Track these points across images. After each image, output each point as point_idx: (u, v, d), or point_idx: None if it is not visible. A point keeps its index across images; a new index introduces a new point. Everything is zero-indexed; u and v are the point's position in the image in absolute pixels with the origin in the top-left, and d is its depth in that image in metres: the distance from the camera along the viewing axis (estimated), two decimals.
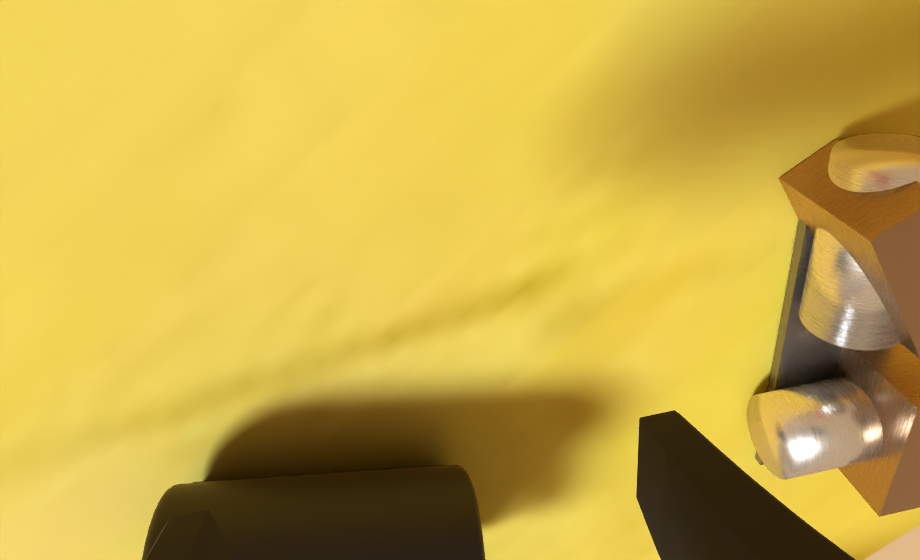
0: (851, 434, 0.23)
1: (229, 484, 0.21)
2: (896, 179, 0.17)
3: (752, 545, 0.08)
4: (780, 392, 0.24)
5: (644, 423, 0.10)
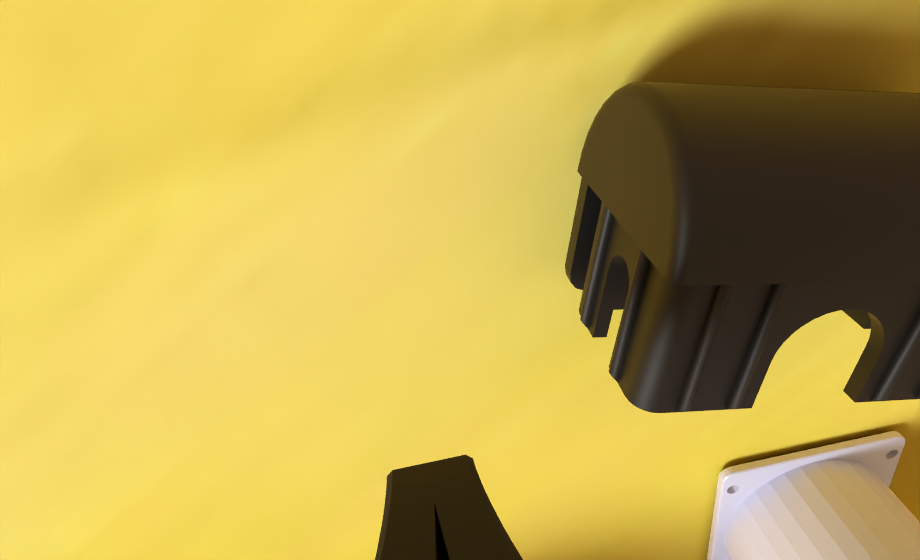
0: None
1: None
2: None
3: None
4: None
5: (430, 468, 0.10)
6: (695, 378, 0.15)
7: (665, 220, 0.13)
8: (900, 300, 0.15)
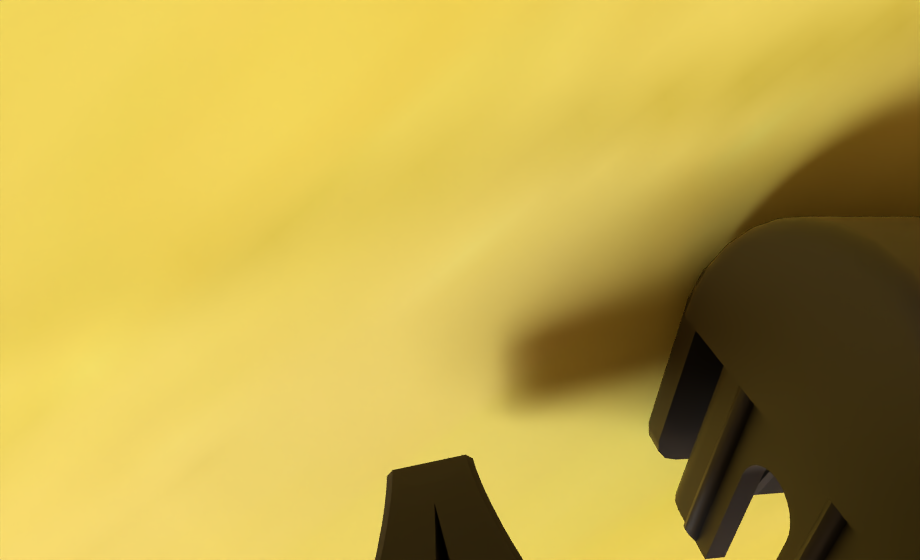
0: None
1: None
2: None
3: None
4: None
5: (430, 468, 0.10)
6: None
7: None
8: None
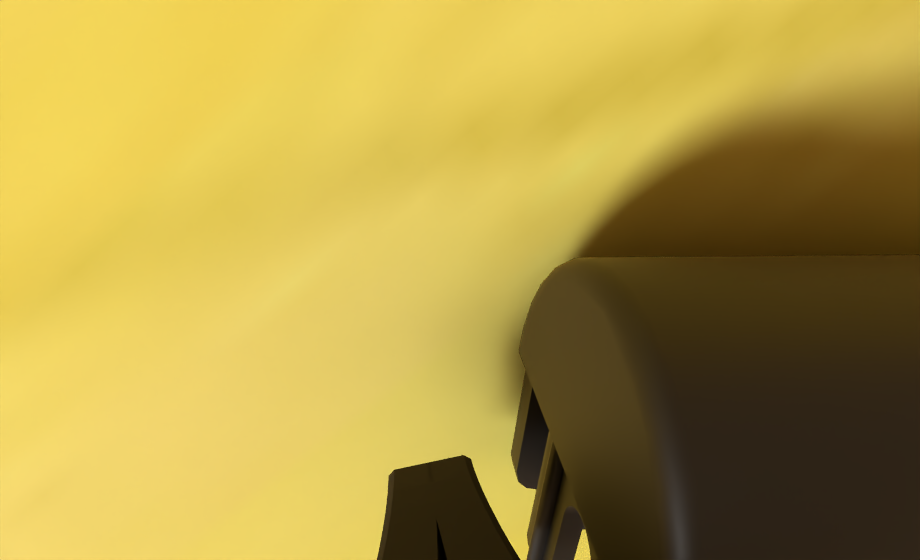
0: None
1: None
2: None
3: None
4: None
5: (428, 469, 0.10)
6: None
7: None
8: None
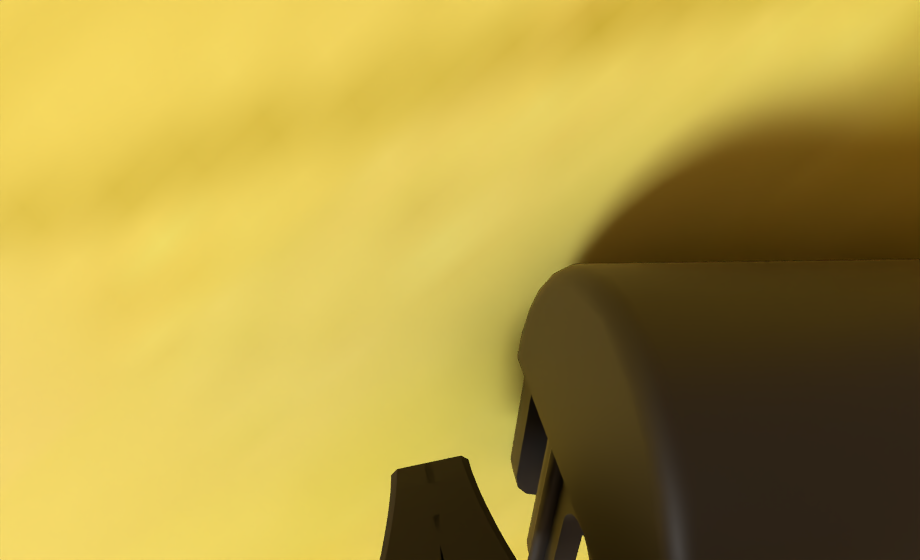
0: None
1: None
2: None
3: None
4: None
5: (426, 470, 0.10)
6: None
7: None
8: None
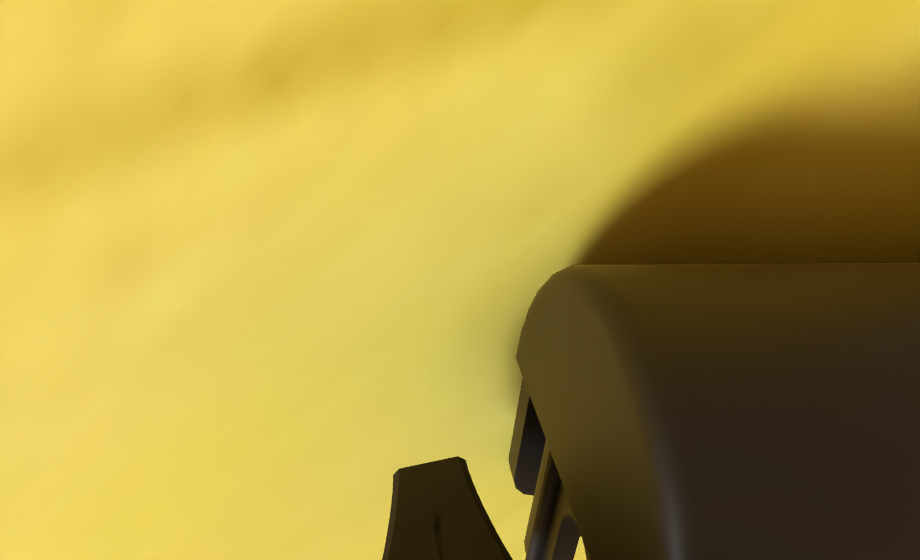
0: None
1: None
2: None
3: None
4: None
5: (423, 470, 0.10)
6: None
7: None
8: None
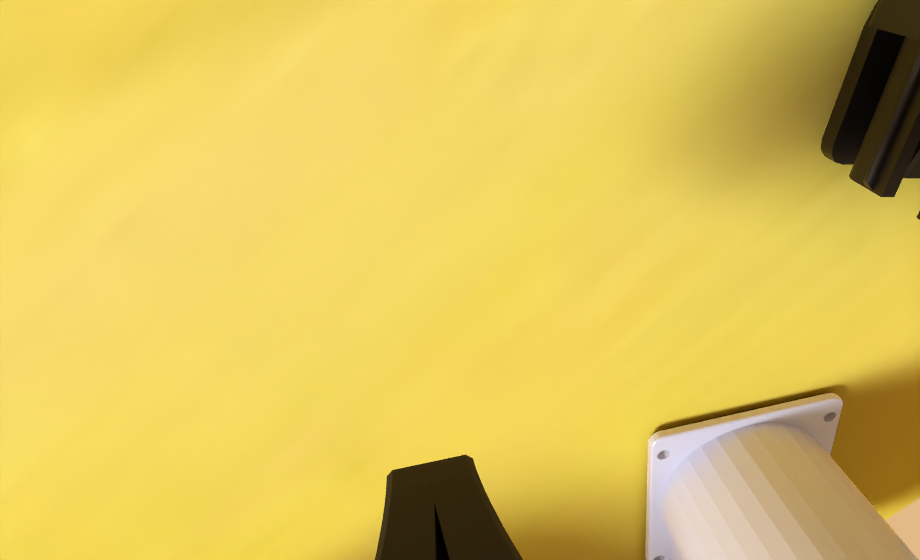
0: None
1: None
2: None
3: None
4: None
5: (430, 468, 0.10)
6: None
7: None
8: None
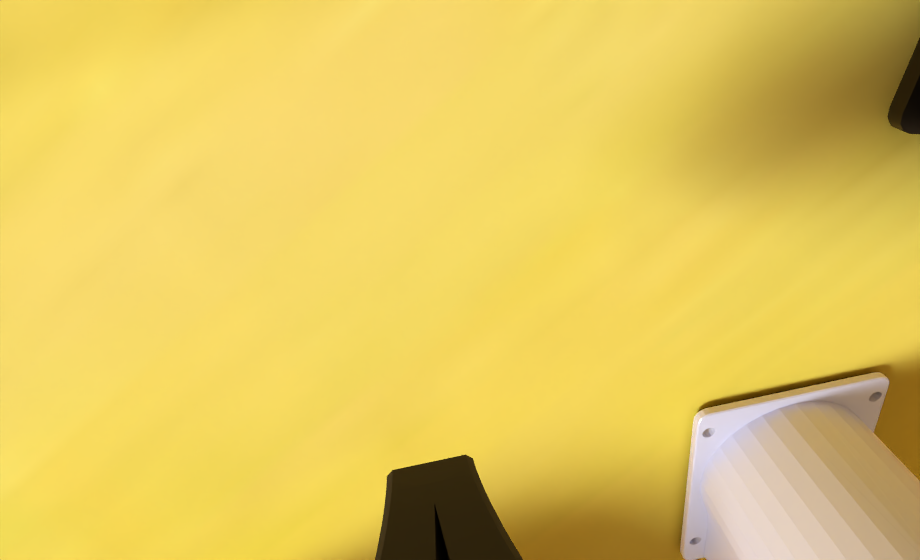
0: None
1: None
2: None
3: None
4: None
5: (430, 468, 0.10)
6: None
7: None
8: None
